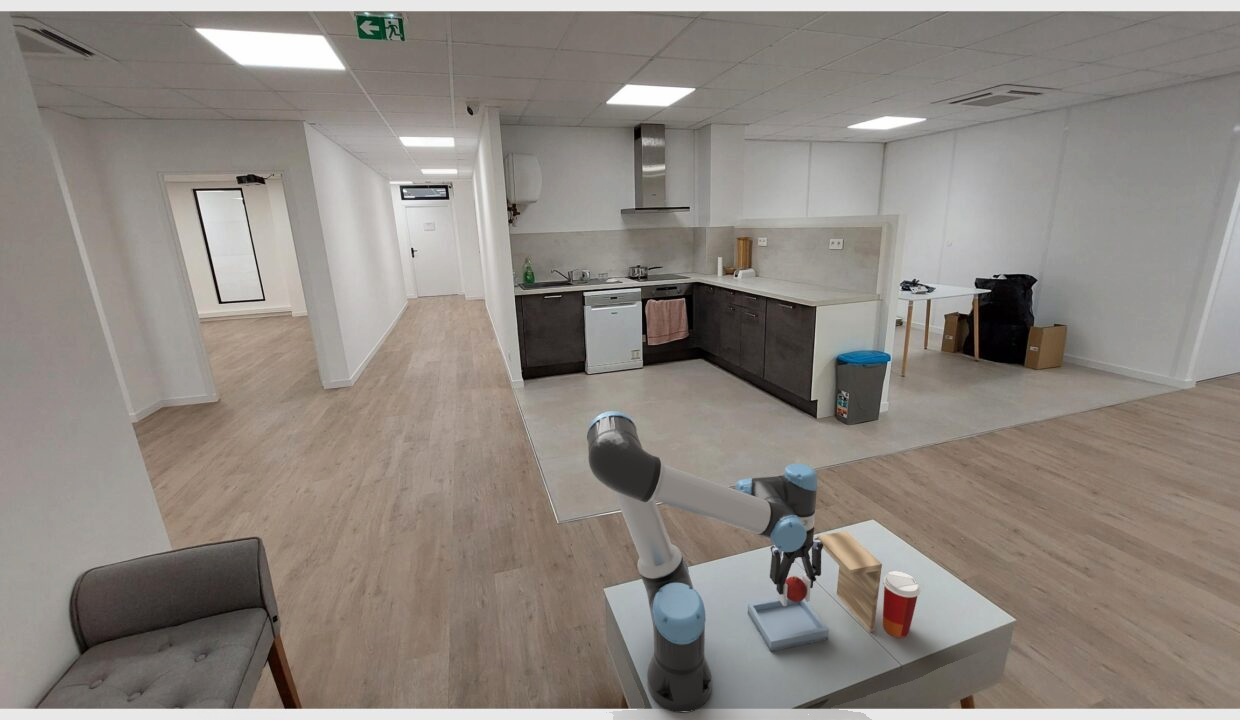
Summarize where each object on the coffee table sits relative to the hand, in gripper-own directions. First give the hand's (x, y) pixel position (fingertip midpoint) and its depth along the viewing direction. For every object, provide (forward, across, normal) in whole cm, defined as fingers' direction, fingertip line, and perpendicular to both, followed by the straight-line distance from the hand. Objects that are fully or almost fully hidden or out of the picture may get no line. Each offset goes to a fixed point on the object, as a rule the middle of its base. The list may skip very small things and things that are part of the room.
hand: (794, 600), depth 128 cm
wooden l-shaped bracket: (+8, +15, 0) cm, 17 cm away
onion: (+1, 0, 0) cm, 1 cm away
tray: (+8, -2, 0) cm, 8 cm away
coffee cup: (+8, +25, -8) cm, 28 cm away
